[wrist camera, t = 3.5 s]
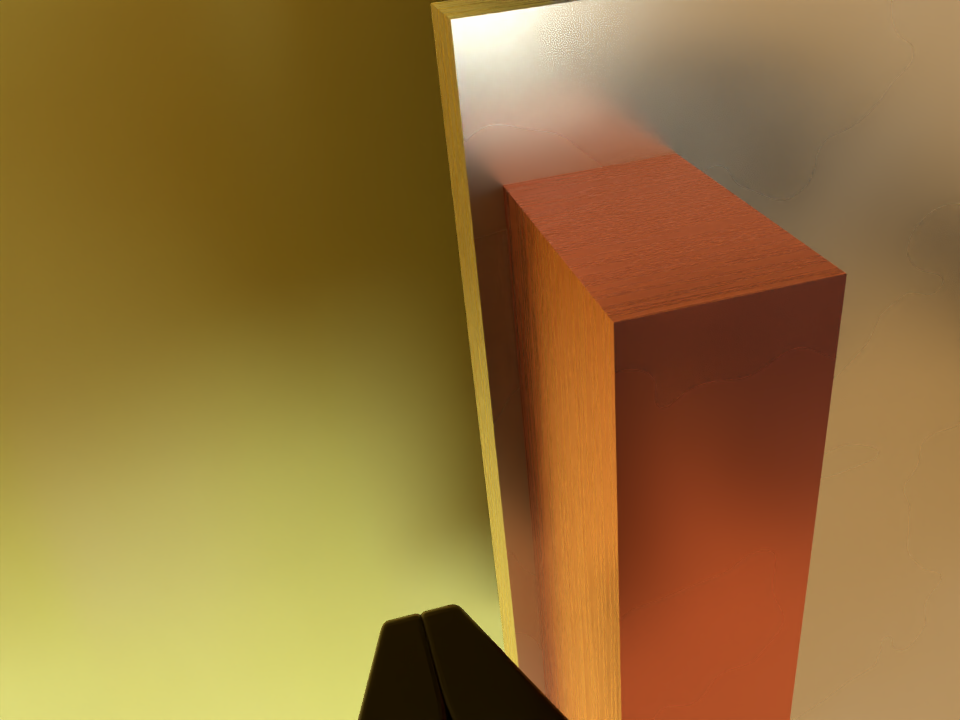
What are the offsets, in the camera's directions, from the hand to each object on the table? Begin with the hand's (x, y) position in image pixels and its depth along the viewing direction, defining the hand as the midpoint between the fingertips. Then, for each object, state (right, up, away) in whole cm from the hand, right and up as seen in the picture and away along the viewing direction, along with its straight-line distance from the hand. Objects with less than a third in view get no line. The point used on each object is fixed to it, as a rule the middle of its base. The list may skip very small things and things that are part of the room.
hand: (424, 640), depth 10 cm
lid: (+7, +2, +2) cm, 8 cm away
